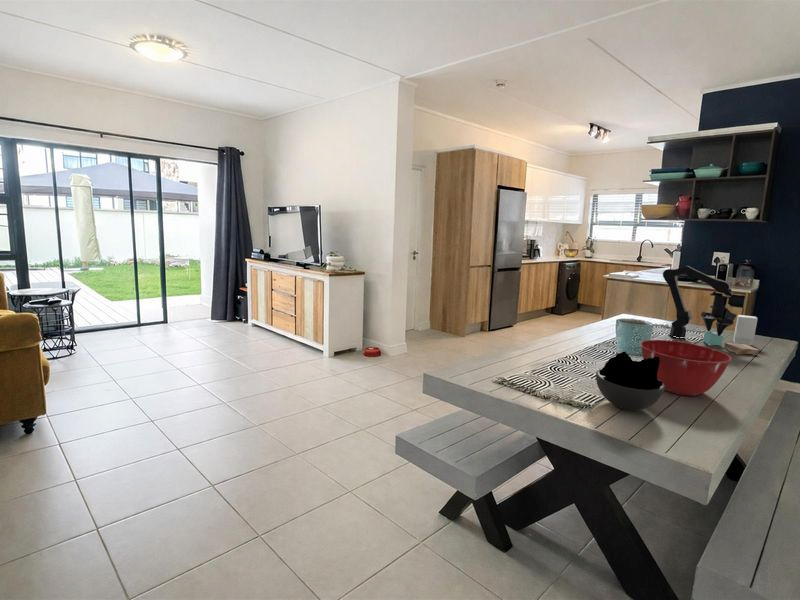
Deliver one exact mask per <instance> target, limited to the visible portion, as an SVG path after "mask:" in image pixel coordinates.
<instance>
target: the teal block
mask: <svg viewBox="0 0 800 600" xmlns="http://www.w3.org/2000/svg"><path fill="white" fill-rule="evenodd" d="M723 340H724V335H723V334H721V335H720V336H718V335H717V332H715V331H713V332H712V331H704V333H703V338H702V343H703V342H705V343H707V344H710V345H709V346H711V345H721V346H722V344H723ZM705 343H704V344H705ZM707 344H706V345H707Z"/></svg>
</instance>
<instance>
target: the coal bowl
mask: <svg viewBox="0 0 800 600" xmlns="http://www.w3.org/2000/svg"><path fill="white" fill-rule="evenodd" d="M659 364H660V359H659V357H654V358H648V359H643V358H642V359H641V360H639V361H638V360H633V359H632V357H631V356H630V355H629V354H628V353H627V352H626V351H622V352H619V353H616V354H615V355H614V356H612V357H610V358H609V359H608V360H607V361H606V362H605V364H604V366H603V367H602V368H600V369H598V370H597V371H596V372H595V379H596V380H595V381H596V385H597V388H598V390H599V392H600V394H601V395H602V396H603V398H605V400H606V401H608V402H609V403H610V404H612V405H613V406H614V407H617V408H620V409H624V410H627V411H640V410H644V409H647V408H649V407H652V406H653V405H654V404H655V403H656V402H658V401H659V399H661V397H662V396H663V394H664V391H665V390H664V389H665V385H664V383H663V382H662V381H660V380H658V379H657V373H658V368H659Z"/></svg>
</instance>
